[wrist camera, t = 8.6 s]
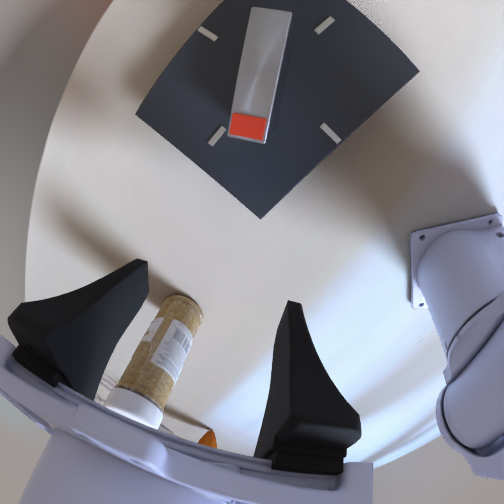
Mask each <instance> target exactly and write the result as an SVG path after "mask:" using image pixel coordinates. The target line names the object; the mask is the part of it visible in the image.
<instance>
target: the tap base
mask: <svg viewBox="0 0 504 504" xmlns="http://www.w3.org/2000/svg"><path fill="white" fill-rule="evenodd" d="M252 7H258V8H267V9H275V10H282V11H288V12H292V14H293V19H294V25H295V36H294V41H293V46H292V51H291V55H290V60H289V65H288V70H287V74H286V79H285V84H284V89H283V93H282V98H281V103H280V108H279V113H278V117H277V122H276V127H275V132H274V134H273V135H272V136H271V137H270V139H269V140H268V141H267V142H266V143H265V144H261V143H257V142H252V141H247V140H241V139H236V138H230V137H228V136H227V133H228V127H229V121H230V115H231V109H232V104H233V98H234V92H235V87H236V81H237V76H238V71H239V66H240V60H241V55H242V50H243V45H244V41H245V36H246V31H247V26H248V22H249V17H250V13H251V8H252ZM417 73H419V70H418V69H417V68H416V66H415V65H414V64H413V63H412V62H411V61H410V60H409V59H408V57H407V56H406V55H405V54H404V53H403V52H402V51H401V50H400V49H399V48H398V47H397V46H396V45H395V44H394V43H393V42H392V41H391V40H390V39H389V38H388V37H387V36H386V35H385V34H384V33H383V32H382V31H381V30H380V29H379V28H378V27H377V26H376V25H375V24H374V23H372V22H371V21H370V20H369V19H368V18H367V17H366V16H365V15H363V14H362V13H361V12H360V11H359V10H357V9H356V8H355V7H354V6H353V5H351V4H350V3H349V2H348V1H346V0H224V1H223V2H222V3H221V4H220V5H219V6H218V7H217V8H216V9H215V10H214V11H213V12H212V13H211V14H210V15H209V16H208V17H207V19H206V20H205V21H204V22H203V23H202V24H201V25H200V26H199V28H198V29H197V30H196V31H195V32H194V33H193V34H192V36H191V37H190V38H189V39H188V40H187V42H186V43H185V44H184V45H183V47H182V48H181V49H180V50H179V52H178V53H177V54H176V55H175V57H174V58H173V59H172V61H171V62H170V63H169V65H168V66H167V67H166V69H165V70H164V71H163V73H162V74H161V76H160V77H159V78H158V80H157V81H156V83H155V84H154V86H153V87H152V89H151V90H150V92H149V93H148V95H147V96H146V98H145V99H144V101H143V102H142V104H141V105H140V107H139V109H138V110H137V112H136V113H135V115H137V116H138V117H139V118H140V119H142V120H143V121H144V122H145V123H147V124H148V125H149V126H150V127H152V128H153V129H154V130H155V131H156V132H158V133H159V134H160V135H161V136H163V137H164V138H165V139H166V140H168V141H169V142H170V143H171V144H172V145H174V146H175V147H176V148H177V149H178V150H180V151H181V152H182V153H183V154H185V155H186V156H187V157H188V158H189V159H191V160H192V161H193V162H194V163H195V164H197V165H198V166H199V167H200V168H201V169H202V170H204V171H205V172H206V173H207V174H208V175H210V176H211V177H212V178H213V179H214V180H216V181H217V182H218V183H219V184H220V185H221V186H223V187H224V188H225V189H226V190H227V191H228V192H230V193H231V194H232V195H233V196H234V197H235V198H237V199H238V200H239V201H240V202H241V203H242V204H243V205H245V206H246V207H247V208H248V209H249V210H250V211H251V212H253V213H254V214H255V215H256V216H257V217H258V218H259V219H262V218H263V217H264V216H265V215H266V214H267V213H268V212H269V211H270V210H271V209H272V208H273V207H274V206H275V205H276V204H277V203H278V202H279V201H280V200H281V199H282V198H284V197H285V196H286V195H287V194H288V193H289V192H290V191H291V190H292V189H293V188H294V187H295V186H296V185H297V184H298V183H299V182H300V181H301V180H302V179H303V178H305V177H306V176H307V175H308V174H309V173H310V172H311V171H312V170H313V169H314V168H315V167H316V166H317V165H318V164H319V163H320V162H321V161H323V160H324V159H325V158H326V157H327V156H328V155H329V154H330V153H331V152H332V151H333V150H334V149H335V148H336V147H338V146H339V145H340V144H341V143H342V142H343V141H344V140H345V139H346V138H347V137H348V136H349V135H350V134H351V133H353V132H354V131H355V130H356V129H357V128H358V127H359V126H360V125H361V124H362V123H363V122H364V121H366V120H367V119H368V118H369V117H370V116H371V115H372V114H373V113H374V112H375V111H376V110H378V109H379V108H380V107H381V106H382V105H383V104H384V103H385V102H386V101H387V100H389V99H390V98H391V97H392V96H393V95H394V94H395V93H396V92H397V91H399V90H400V89H401V88H402V87H403V86H404V85H405V84H406V83H407V82H409V81H410V80H411V79H412V78H413V77H414V76H415V75H416V74H417Z"/></svg>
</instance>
